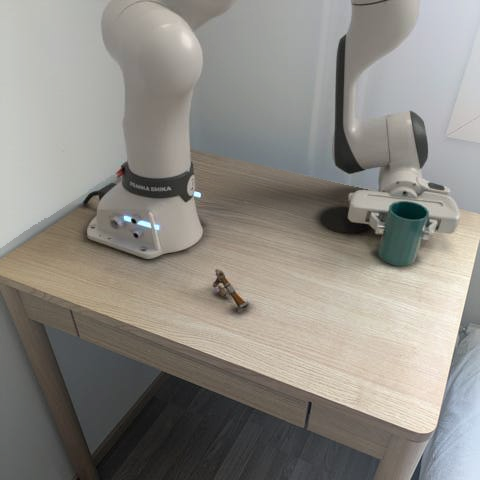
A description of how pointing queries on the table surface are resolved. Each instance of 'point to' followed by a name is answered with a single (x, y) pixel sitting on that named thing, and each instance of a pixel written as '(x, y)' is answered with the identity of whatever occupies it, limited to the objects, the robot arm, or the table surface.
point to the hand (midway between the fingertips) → (403, 233)
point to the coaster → (341, 221)
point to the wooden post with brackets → (229, 290)
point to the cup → (403, 232)
